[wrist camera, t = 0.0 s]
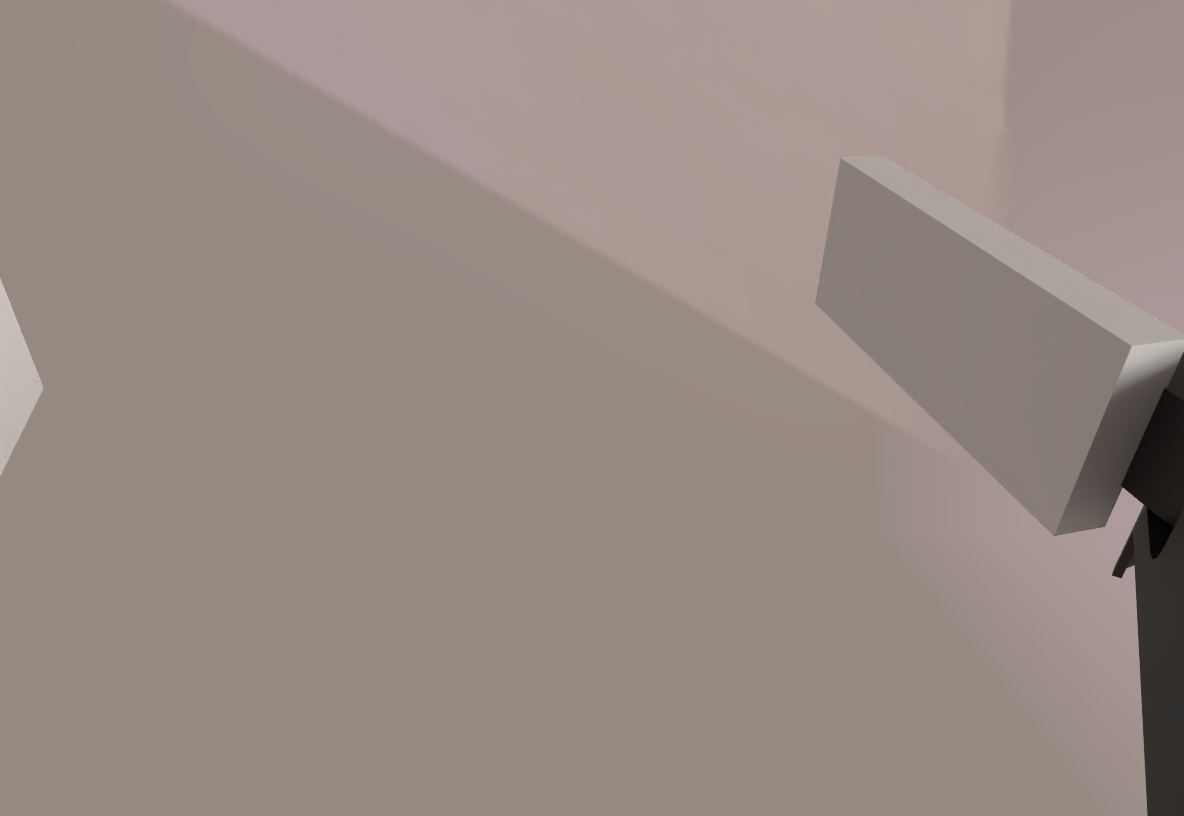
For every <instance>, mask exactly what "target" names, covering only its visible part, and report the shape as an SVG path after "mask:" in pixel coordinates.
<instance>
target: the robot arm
mask: <svg viewBox="0 0 1184 816" xmlns="http://www.w3.org/2000/svg"><path fill="white" fill-rule="evenodd" d="M815 304H816V305H817V306H818V307H819V308H820V309H822V310H823V311H824V312H825V313H826V314H827V315H828V316H829V317H830V318H831V319H832V320H833V321H834V322H835V323H836V324H837V325H838V326H839V327H840V328H841V329H842V330H843V331H844V332H845V333H846V334H847V335H848V336H849V337H850V338H851V339H852V340H853V341H854V342H855V343H856V344H857V345H858V346H859V347H861V348H862V349H863V350H864V351H865V352H866V353H867V354H868V355H869V356H870V357H871V358H872V359H873V360H874V361H875V362H876V363H877V364H878V365H879V366H880V367H881V368H882V369H883V370H884V371H885V372H886V373H887V374H888V375H889V376H890V377H891V378H892V379H893V380H894V381H895V382H896V383H897V384H898V385H899V386H901V387H902V388H903V389H904V390H905V391H906V392H907V393H908V394H909V395H910V396H911V397H912V398H913V399H914V400H915V401H916V402H917V403H918V404H919V405H920V406H921V407H922V408H923V409H924V410H925V411H926V412H927V413H928V414H929V415H930V416H931V417H932V418H933V419H934V420H935V421H936V422H937V423H938V424H940V425H941V426H942V427H943V428H944V429H945V430H946V431H947V432H948V433H949V434H950V435H951V436H952V437H953V438H954V439H955V440H956V441H957V442H958V443H959V444H960V445H961V446H962V447H963V448H964V449H965V450H966V451H967V452H968V453H969V454H970V455H971V456H972V457H973V458H974V459H975V460H977V461H978V462H979V463H980V464H981V465H982V466H983V467H984V468H985V469H986V470H987V471H988V472H989V473H990V474H991V475H992V476H993V477H994V478H995V479H996V480H997V481H998V482H999V483H1000V484H1001V485H1002V486H1003V487H1004V488H1005V489H1006V490H1007V491H1008V492H1009V493H1010V494H1012V496H1013V497H1014V498H1015V499H1017V500H1018V501H1019V502H1020V503H1021V504H1022V505H1023V506H1024V507H1025V508H1026V509H1027V510H1028V511H1029V512H1030V513H1031V514H1032V515H1033V516H1034V517H1035V518H1036V519H1037V520H1038V521H1039V522H1040V523H1041V524H1042V525H1043V526H1044V527H1045V528H1046V529H1047V530H1048V531H1049V532H1050V533H1051V534H1052V535H1053V536H1057V535H1062V534H1067V533H1073V532H1078V531H1084V530H1089V529H1095V528H1100V527H1105V525H1106V523H1107V521H1108V518H1109V516H1110V514H1111V512H1112V510H1113V507H1114V505H1115V503H1116V501H1117V499H1118V496H1119V494H1120V492H1121V489H1122V487H1123V488H1124V489H1126V490H1127V491H1128V492H1129V493H1131V494H1132V495H1133V496H1134V497H1135V498H1137V499H1138V500H1139V501H1140V502H1141V503H1143V504H1144V506H1143V508H1142V511H1141V513H1140V515H1139V517H1138V519H1137V521H1136V523H1135V525H1134V527H1133V529H1132V531H1131V534H1130V536H1129V538H1128V540H1127V542H1126V544H1125V546H1124V548H1123V550H1122V553H1121V555H1120V557H1119V559H1118V561H1117V563H1116V565H1115V568H1114V571H1113V574H1112V576H1116V577H1119V578H1122V576H1123V574H1124V572H1125V570H1126V568H1128V567H1131V566H1133V565H1135V581H1136V599H1137V620H1138V638H1139V656H1140V657H1139V658H1140V677H1141V696H1142V716H1143V736H1144V753H1145V754H1144V755H1145V775H1146V794H1147V813H1148V816H1184V335H1183V334H1181V333H1180V332H1178V331H1176V330H1174V329H1173V328H1171V327H1170V326H1168V325H1166V324H1164V323H1163V322H1161V321H1160V320H1158V319H1156V318H1155V317H1153V316H1151V315H1149V314H1148V313H1146V312H1144V311H1143V310H1141V309H1139V308H1138V307H1136V306H1134V305H1133V304H1131V303H1129V302H1128V301H1126V300H1124V299H1122V298H1121V297H1119V296H1117V295H1116V294H1114V293H1112V292H1111V291H1109V290H1107V289H1106V288H1104V287H1102V286H1101V285H1099V284H1097V283H1096V282H1094V281H1092V280H1090V279H1089V278H1087V277H1086V276H1084V275H1082V274H1080V273H1079V272H1077V271H1075V270H1074V269H1072V268H1070V267H1069V266H1067V265H1065V264H1064V263H1062V262H1060V261H1059V260H1057V259H1055V258H1053V257H1052V256H1050V255H1048V254H1047V253H1045V252H1043V251H1042V250H1040V249H1038V248H1037V247H1035V246H1033V245H1032V244H1030V243H1028V242H1026V241H1025V240H1023V239H1021V238H1020V237H1018V236H1017V235H1015V234H1013V233H1011V232H1010V231H1008V230H1006V229H1005V228H1003V227H1001V226H1000V225H998V224H996V223H995V222H993V221H991V220H990V219H988V218H986V217H985V216H983V215H981V214H980V213H978V212H976V211H974V210H973V209H971V208H969V207H968V206H966V205H964V204H963V203H961V202H959V201H958V200H956V199H954V198H953V197H951V196H949V195H948V194H946V193H944V192H942V191H941V190H939V189H937V188H936V187H934V186H932V185H931V184H929V183H927V182H926V181H924V180H922V179H921V178H919V177H917V176H916V175H914V174H912V173H911V172H909V171H907V170H905V169H904V168H902V167H900V166H899V165H897V164H895V163H894V162H892V161H890V160H889V159H887V158H885V157H884V156H882V155H874V156H859V157H845V158H841V159H840V164H839V170H838V176H837V182H836V187H835V193H834V199H833V205H832V210H831V216H830V222H829V228H828V233H827V239H826V245H825V250H824V256H823V262H822V268H821V273H820V279H819V285H818V291H817V296H816V302H815ZM42 390H43V386H42V383H41V380H40V378H39V375H38V373H37V371H36V368H35V365H34V363H33V360H32V358H31V355H30V353H29V350H28V347H27V345H26V342H25V340H24V338H23V335H22V332H21V330H20V327H19V325H18V322H17V320H16V317H15V315H14V312H13V309H12V307H11V304H10V302H9V300H8V297H7V294H6V292H5V289H4V287H3V284H2V282H1V279H0V475H1V473H2V471H3V469H4V467H5V465H6V463H7V461H8V459H9V457H10V455H11V453H12V451H13V449H14V447H15V445H16V443H17V441H18V439H19V437H20V435H21V433H22V431H23V429H24V427H25V425H26V423H27V421H28V419H29V417H30V414H31V412H32V411H33V408H34V406H35V404H36V402H37V400H38V398H39V396H40V394H41V392H42Z"/></svg>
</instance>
